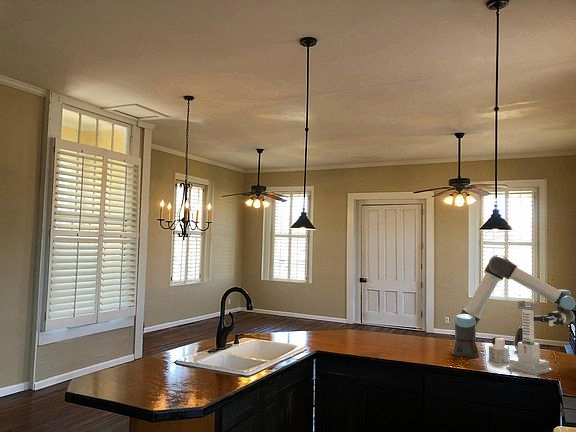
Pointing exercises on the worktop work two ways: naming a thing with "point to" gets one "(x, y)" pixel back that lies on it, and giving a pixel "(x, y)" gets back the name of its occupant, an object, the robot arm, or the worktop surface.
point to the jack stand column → (528, 320)
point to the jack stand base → (529, 360)
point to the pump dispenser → (518, 337)
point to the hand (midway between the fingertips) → (536, 321)
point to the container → (498, 350)
